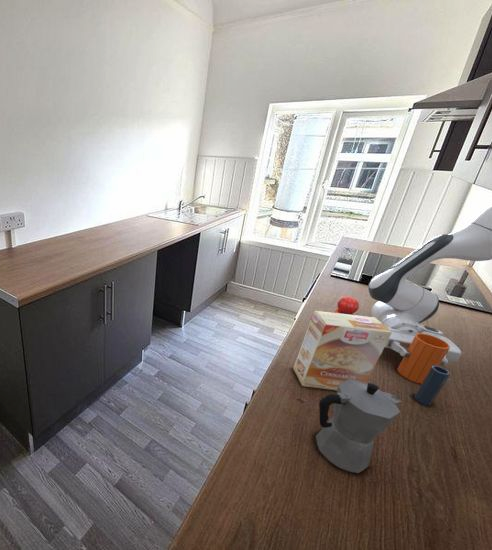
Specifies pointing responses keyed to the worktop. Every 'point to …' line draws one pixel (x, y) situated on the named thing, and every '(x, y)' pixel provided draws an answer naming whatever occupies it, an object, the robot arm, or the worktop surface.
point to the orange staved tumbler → (422, 357)
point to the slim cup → (431, 385)
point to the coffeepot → (354, 423)
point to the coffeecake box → (339, 349)
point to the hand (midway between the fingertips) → (425, 358)
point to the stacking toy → (347, 306)
